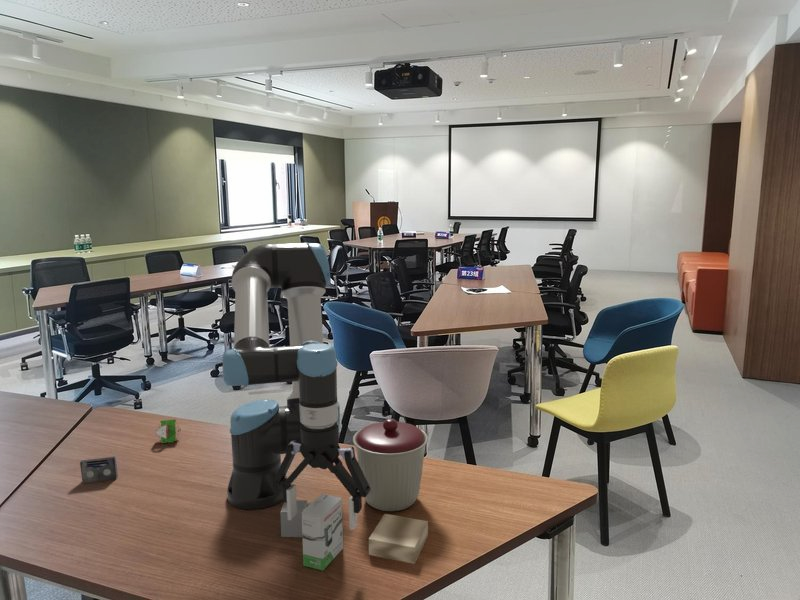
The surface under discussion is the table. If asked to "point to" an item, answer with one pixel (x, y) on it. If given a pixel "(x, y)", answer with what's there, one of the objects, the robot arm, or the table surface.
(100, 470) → the mini dv tape
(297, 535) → the grey block
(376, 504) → the canister
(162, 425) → the geometric puzzle
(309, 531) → the ink box
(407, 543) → the oak block
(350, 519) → the robot arm
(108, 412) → the table surface
